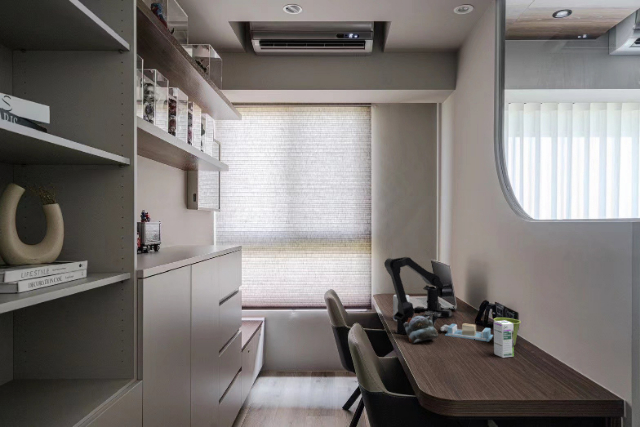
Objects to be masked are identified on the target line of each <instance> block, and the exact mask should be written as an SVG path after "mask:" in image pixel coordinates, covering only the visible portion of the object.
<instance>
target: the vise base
mask: <svg viewBox="0 0 640 427" xmlns="http://www.w3.org/2000/svg"><path fill="white" fill-rule="evenodd" d="M444 336H447V337H453V338H460V339H468V340H469V339H470V340H474V339H475V341H482V342H490V341H491V340H492V338H494V334H491V328H490V327H485V328H484V329H483V330H482V331H476V335H475V336H467V335H462V328H461V329H459V328H457V331H456V332H455V333H454V334H450V333H448V331H446V333H445V334H444Z"/></svg>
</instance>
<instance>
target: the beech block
mask: <svg viewBox="0 0 640 427" xmlns="http://www.w3.org/2000/svg"><path fill="white" fill-rule="evenodd" d="M461 330H462V335H467V336H475V335H476V332H477V324H472V323H466V322H464V323H462V325H461Z"/></svg>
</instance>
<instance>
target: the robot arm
mask: <svg viewBox="0 0 640 427" xmlns="http://www.w3.org/2000/svg"><path fill="white" fill-rule="evenodd" d="M384 267H385V269H386V271H387V273H388V275H389V276H390V278H391V282H392V285H393V289H394V291H395V295H396V296H397V299H398V312H397V313H396V314H395V315H394V318H395V320H397V322H396V331H394V334H397V335H403V336H408V334H407V332H406V330H405V327H404V323H405V322H407V321H408V318H413V317H414V315H415V314H421V313H424V315H425V316H426V318H427V317H428V316H430V317H431V319H432V322H433V326H434V327H435V325H436V322H437V319H438V318H439V317H441V316H442V317H446V318H450V317H452V315H453V312H452V310H451V309H447V308H444V309H441V308H442V303H440V300H439V298H440V299H443V298H451V297H452V296H453V291H452V288H451V285H450V284H447V283H446V284H443V283H442V281H441V277H439V275H437V274H434V273H433V272H430V271H428V270H426V269H425V268H424V267H422V266H421V265H420V264H418V262H416V261H414V260H413V259H412V258H411V257H410V256H409V257H408V256H404V257H398V258H391V257H389V258H386V260H385V261H384ZM404 267H408V269H410V270H412V271H413V272H414V273H416V274H417V275H419V276H420V277H421V278H422V281H423V282H425V284H426V285H425V286H424V287H423V288H422V289H423V290H424V291H426V308H425V307H424V306H420V305H419V306H415V307H414V305H413V303H412V302H411V301H410V302H408V301H407V298H406V295H407V294H406V291H405V289H404V285H403V281H402V278H401V271H402V270H401V268H404ZM429 285H430V286H429Z"/></svg>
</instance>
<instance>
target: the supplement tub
mask: <svg viewBox="0 0 640 427" xmlns="http://www.w3.org/2000/svg"><path fill="white" fill-rule="evenodd" d="M405 295H406V298H407V301H408V302H410V303H411V301H410V300H411V299H410V295H408V294H405ZM397 312H398V299H397V296H396V294H394V295H392V316H393V317H392V318H393V321H394V322H396V323H397V320H395V318H394V315H395V314H396V313H397Z"/></svg>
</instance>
